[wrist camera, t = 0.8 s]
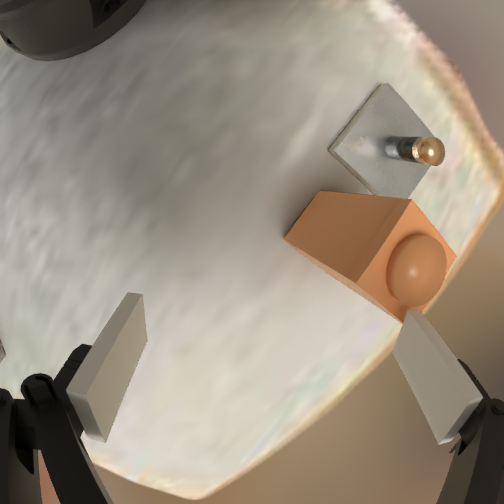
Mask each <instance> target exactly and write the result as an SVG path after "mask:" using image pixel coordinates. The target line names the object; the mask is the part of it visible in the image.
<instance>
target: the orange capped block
mask: <svg viewBox="0 0 504 504" xmlns="http://www.w3.org/2000/svg"><path fill="white" fill-rule="evenodd" d="M283 240H285V241H286V242H287V243H289V244H290V245H291V246H292V247H294V248H295V249H296V250H298V251H299V252H300V253H302V254H303V255H304V256H305V257H307V258H308V259H309V260H311V261H312V262H313V263H314V264H316V265H317V266H318V267H320V268H321V269H322V270H323V271H325V272H326V273H327V274H329V275H331V276H332V277H334V278H335V279H337V280H338V281H340V282H341V283H343V284H344V285H346V286H347V287H349V288H350V289H352V290H353V291H355V292H356V293H358V294H359V295H361V296H362V297H364V298H365V299H366V300H368V301H369V302H371V303H372V304H374V305H375V306H377V307H378V308H380V309H381V310H383V311H384V312H386V313H387V314H389V315H390V316H392V317H393V318H395V319H396V320H397V321H399V322H400V323H402V324H403V322H404V319H405V317H406V314H407V311H408V310H420V312H421V313H422V311H423V310H424V308H425V307H426V305H427V304H428V302H429V301H430V300H431V299H432V298H433V297H434V296H435V295H436V294H437V292H438V291H439V289H440V287H441V285H442V283H443V281H444V278H445V276H446V274H447V272H448V271H449V269H450V267H451V266H452V264H453V262H454V260H455V259H456V257H457V256H456V254H455V253H454V252H453V250H452V249H451V248H450V246H449V245H448V244H447V242H446V241H445V240H444V238H443V237H442V236H441V234H440V233H439V232H438V231H437V229H436V228H435V227H434V226H433V224H432V223H431V222H430V221H429V219H428V218H427V217H426V216H425V214H424V213H423V212H422V211H421V210H420V208H419V207H418V206H417V205H416V204H415V203H414V201H413V200H412V199H404V198H395V197H385V196H375V195H365V194H353V193H341V192H328V191H318V193H317V194H316V195H315V197H314V198H313V200H312V201H311V202H310V204H309V205H308V206H307V208H306V209H305V210H304V212H303V213H302V215H301V216H300V217H299V219H298V220H297V221H296V223H295V224H294V225H293V227H292V228H291V230H290V231H289V232H288V234H287V235H286V236H285V238H284V239H283Z"/></svg>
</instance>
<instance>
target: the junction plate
mask: <svg viewBox="0 0 504 504" xmlns="http://www.w3.org/2000/svg"><path fill="white" fill-rule="evenodd" d="M328 151H329V152H330V153H331V154H332V155H333V156H334V157H336V158H337V159H338V160H339V161H340V162H341V163H342V164H343V165H344V166H345V167H346V168H347V169H349V170H350V171H351V172H352V173H353V174H354V175H355V176H356V177H357V178H358V179H359V180H360V181H361V182H362V183H363V184H364V185H365V186H366V187H367V188H368V189H369V190H370V191H371V192H372V193H373V194H374V195H375V196H385V197H395V198H404V199H408V197H409V196H410V195H411V193H412V192H413V190H414V189H415V188H416V186H417V185H418V183H419V182H420V181H421V179H422V178H423V176H424V175H425V173H426V172H427V170H428V169H429V167H430V166H431V165H433V166H438V165H440V164H441V163H442V162H443V160H444V157H445V148H444V145H443V143H442V142H441V141H440V140H439V139H438V138H435V137H434V136H433V134H432V133H431V132H430V131H429V129H428V128H427V127H426V126H425V124H424V123H423V122H422V121H421V119H420V118H419V117H418V116H417V115H416V113H415V112H414V111H413V110H412V109H411V108H410V107H409V105H408V104H407V103H406V102H405V101H404V100H403V99H402V98H401V96H400V95H399V94H398V93H397V92H396V91H395V90H394V89H393V88H392V87H391V86H390V85H389V84H388V83H386V84H382V85H379V86H378V88H377V89H376V90H375V91H374V93H373V94H372V95H371V96H370V98H369V99H368V100H367V101H366V103H365V104H364V105H363V106H362V108H361V109H360V110H359V111H358V113H357V114H356V115H355V116H354V118H353V119H352V120H351V121H350V123H349V124H348V125H347V127H346V128H345V129H344V130H343V132H342V133H341V134H340V135H339V137H338V138H337V139H336V140H335V142H334V143H333V144H332V145H331V147H330V148H329V149H328Z"/></svg>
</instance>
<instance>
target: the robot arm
mask: <svg viewBox="0 0 504 504" xmlns="http://www.w3.org/2000/svg"><path fill="white" fill-rule="evenodd" d="M145 1H146V0H0V34H1V36H2V38H3V40H4V41H5V43H6V44H7V45H8V46H9V47H10V48H12V49H13V50H14V51H16V52H18V53H20V54H23V55H25V56H28V57H30V58H33V59H37V60H45V61H48V60H59V59H64V58H68V57H71V56H74V55H77V54H79V53H82V52H84V51H86V50H88V49H90V48H92V47H94V46H96V45H98V44H99V43H101V42H103V41H104V40H106V39H107V38H109V37H110V36H111V35H113V34H114V33H115V32H117V31H118V30H119V29H120V28H122V27H123V26H124V25H125V24H126V23H127V22H128V21H129V20H130V19H131V18H132V17H133V16H134V15H135V14H136V13H137V12H138V10H139V9H140V8H141V7H142V5H143V4H144V3H145ZM147 341H148V340H147V332H146V324H145V314H144V304H143V294H136V293H127V294H126V296H125V297H124V299H123V300H122V302H121V303H120V305H119V306H118V308H117V309H116V311H115V312H114V314H113V315H112V317H111V318H110V320H109V321H108V323H107V324H106V326H105V327H104V329H103V330H102V332H101V333H100V335H99V337H98V338H97V340H96V341H95V343H94V344H93V346H91V345H86V344H82V345H80V346H79V347H77V348H76V349H75V350H73V352H72V353H71V355H70V356H69V358H68V360H67V361H66V362H65V364H64V367H62V368H61V370H60V371H59V373H58V374H57V376H56V378H55V379H54V381H53V379H52V378H51V377H50V376H48V375H47V374H42V373H39V374H33V375H31V376H28V377H27V378H26V379H25V380H24V381H23V383H22V385H21V393H22V395H23V397H24V399H13V398H12V396H11V394H10V393H9V391H7V390H6V389H1V388H0V504H42V498H41V488H40V478H39V464H38V450H41V453H42V456H43V459H44V462H45V465H46V467H47V470H48V473H49V476H50V479H51V481H52V484H53V486H54V489H55V491H56V494H57V496H58V499H59V501H60V503H61V504H114V503H113V501H112V500H111V498H110V496H109V494H108V492H107V491H106V489H105V487H104V485H103V483H102V481H101V479H100V478H99V476H98V474H97V472H96V470H95V468H94V466H93V464H92V461H91V459H90V457H89V455H88V453H87V451H86V449H85V446H84V444H83V442H82V440H81V438H80V437H81V434H82V432H83V430H84V431H85V433H86V435H87V437H88V438H90V439H93V440H97V441H101V442H104V443H106V441H107V438H108V435H109V433H110V430H111V428H112V425H113V422H114V420H115V417H116V415H117V412H118V410H119V407H120V405H121V402H122V400H123V397H124V395H125V392H126V390H127V387H128V385H129V383H130V380H131V378H132V375H133V373H134V371H135V368H136V366H137V364H138V361H139V359H140V357H141V354H142V352H143V350H144V347H145V345H146V343H147ZM392 353H393V355H394V357H395V358H396V360H397V362H398V364H399V366H400V368H401V370H402V372H403V374H404V375H405V377H406V379H407V381H408V383H409V385H410V387H411V389H412V391H413V393H414V395H415V397H416V399H417V401H418V403H419V405H420V406H421V409H422V411H423V413H424V415H425V417H426V419H427V421H428V423H429V425H430V427H431V429H432V431H433V434H434V436H435V438H436V440H437V442H438V444H442V443H446V442H449V441H452V440H453V439H454V437H455V436H456V435H457V433H458V432H459V433H460V435H461V438H460V439H459V441H458V442H457V443H456V444H455V446H454V447H453V448H452V449H451V451H450V453H452V452H453V451H454V450H455V449H456V450H455V453H454V456H453V460H452V463H451V466H450V469H449V472H448V475H447V477H446V480H445V483H444V486H443V488H442V491H441V493H440V496H439V499H438V501H437V503H436V504H504V402H503V401H501V400H499V399H495V398H494V399H490V397H489V396H488V394H487V393H486V391H485V390H484V388H483V387H482V385H481V384H480V383H479V381H478V380H476V377H475V375H474V374H472V371H471V370H470V368H469V367H468V366H467V365H466V364H465V363H464V362H462V361H461V360H460V359H456V358H455V356H454V355H453V354H452V352H451V351H450V349H449V348H448V347H447V345H446V344H445V343H444V341H443V340H442V339H441V337H440V336H439V335H438V333H437V332H436V331H435V329H434V328H433V327H432V326H431V324H430V323H429V322H428V320H427V319H426V318H425V317H424V315H423V314H422V313H421V312H420V310H408V311H407V314H406V317H405V319H404V322H403V325H402V328H401V330H400V333H399V336H398V338H397V341H396V344H395V346H394V349H393V351H392Z"/></svg>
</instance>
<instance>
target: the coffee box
mask: <svg viewBox="0 0 504 504" xmlns="http://www.w3.org/2000/svg"><path fill="white" fill-rule="evenodd" d="M4 357H5V353H4V350H3V348H2V345H1V342H0V362H1V361H2V360H3V358H4Z"/></svg>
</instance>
